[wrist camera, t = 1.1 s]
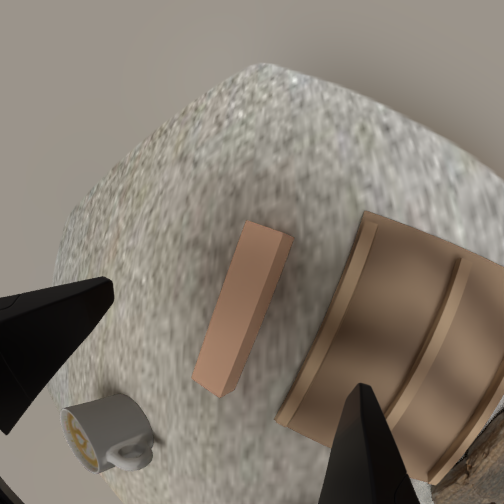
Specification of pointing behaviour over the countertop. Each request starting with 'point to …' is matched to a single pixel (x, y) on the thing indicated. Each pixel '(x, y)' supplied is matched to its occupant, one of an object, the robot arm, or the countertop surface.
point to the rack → (409, 343)
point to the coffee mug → (108, 434)
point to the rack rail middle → (431, 342)
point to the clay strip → (241, 307)
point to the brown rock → (477, 471)
